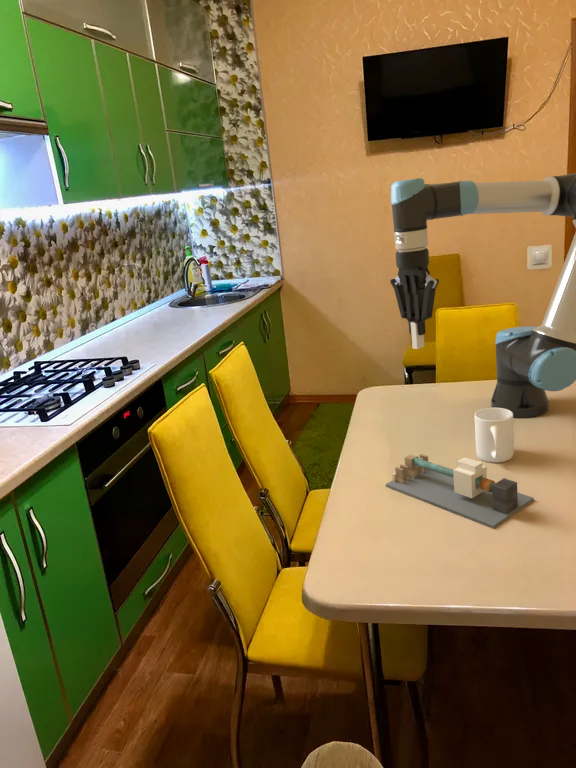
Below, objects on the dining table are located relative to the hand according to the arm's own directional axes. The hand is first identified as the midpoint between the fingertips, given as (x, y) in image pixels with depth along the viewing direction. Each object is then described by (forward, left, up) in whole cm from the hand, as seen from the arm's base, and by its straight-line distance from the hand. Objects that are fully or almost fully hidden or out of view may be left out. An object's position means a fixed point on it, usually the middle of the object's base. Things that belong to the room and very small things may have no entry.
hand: (418, 347), depth 150 cm
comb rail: (+15, +21, -26) cm, 37 cm away
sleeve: (+15, +25, -24) cm, 38 cm away
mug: (-4, +18, -27) cm, 32 cm away
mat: (+15, +21, -26) cm, 37 cm away
